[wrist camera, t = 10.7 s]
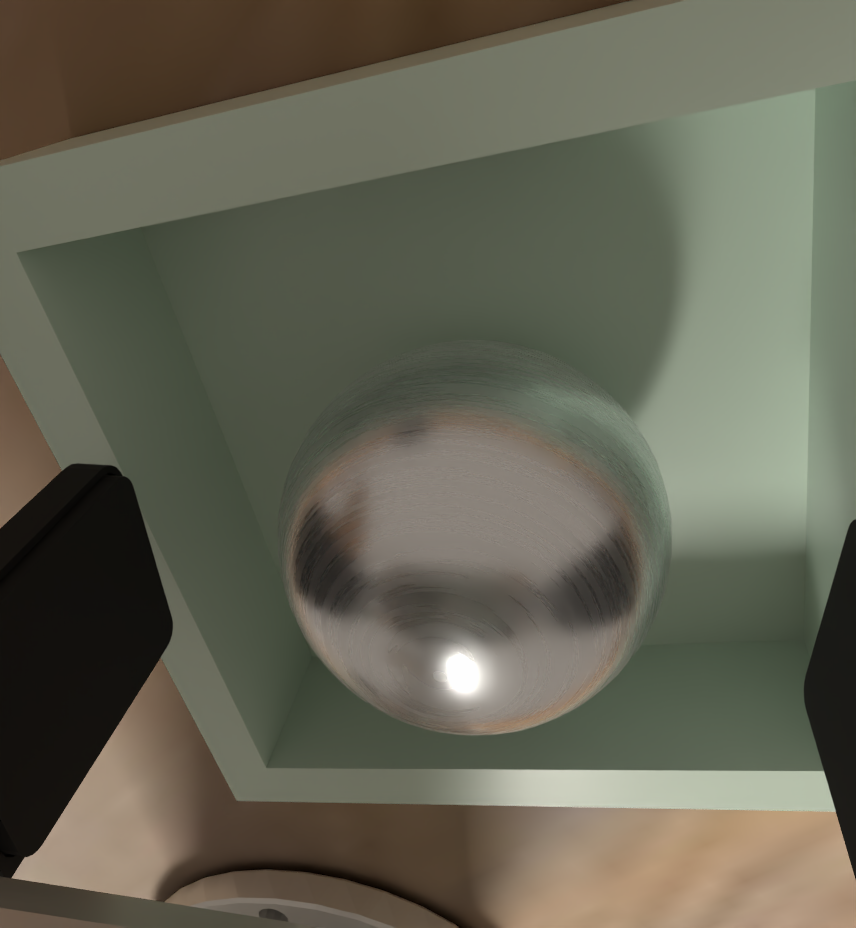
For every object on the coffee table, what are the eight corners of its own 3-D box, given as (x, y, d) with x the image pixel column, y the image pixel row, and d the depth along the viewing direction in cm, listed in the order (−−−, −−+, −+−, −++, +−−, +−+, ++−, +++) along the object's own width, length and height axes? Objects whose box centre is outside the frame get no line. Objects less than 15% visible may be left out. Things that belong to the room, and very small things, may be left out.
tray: (851, 653, 15) (912, 813, 12) (293, 670, 18) (236, 801, 16) (895, -66, 9) (1031, -84, 7) (69, 139, 13) (-88, 187, 10)
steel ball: (669, 555, 14) (705, 833, 9) (382, 573, 16) (292, 822, 11) (643, 258, 11) (675, 441, 7) (300, 313, 13) (137, 495, 8)
